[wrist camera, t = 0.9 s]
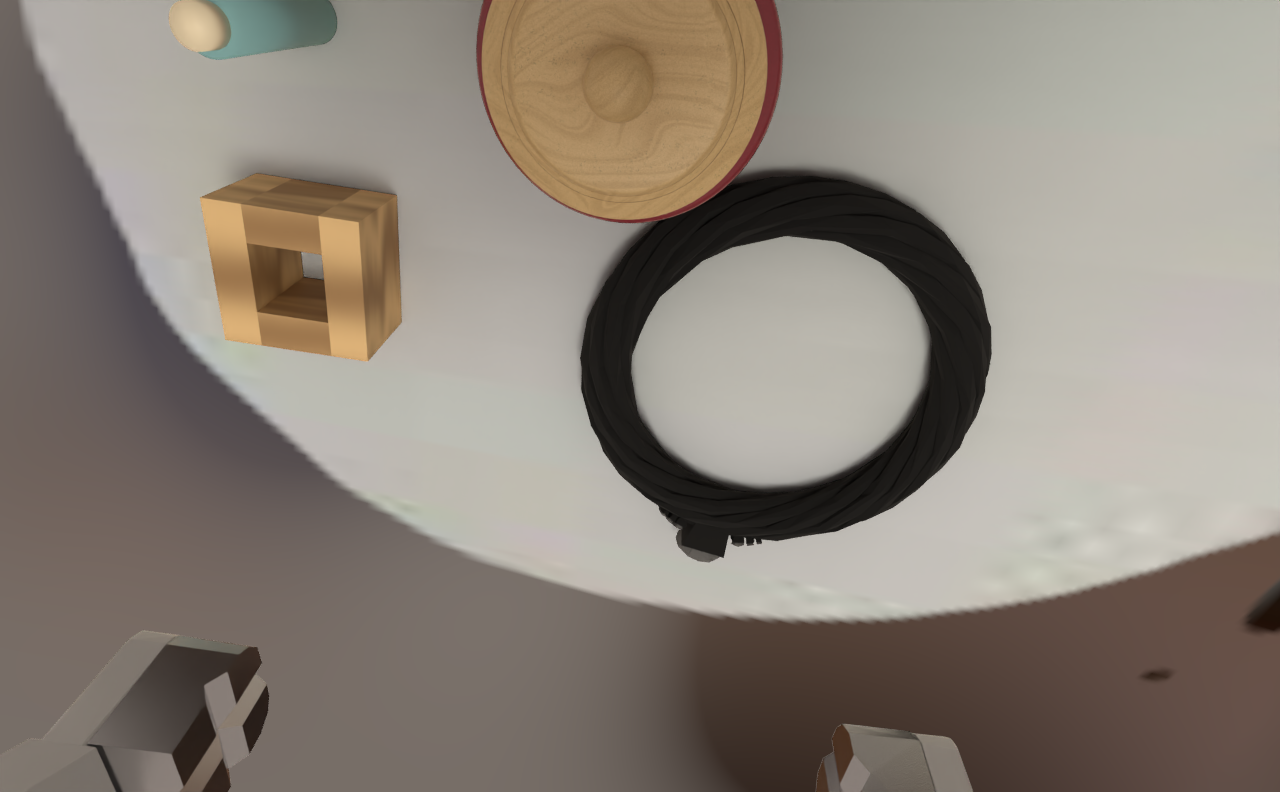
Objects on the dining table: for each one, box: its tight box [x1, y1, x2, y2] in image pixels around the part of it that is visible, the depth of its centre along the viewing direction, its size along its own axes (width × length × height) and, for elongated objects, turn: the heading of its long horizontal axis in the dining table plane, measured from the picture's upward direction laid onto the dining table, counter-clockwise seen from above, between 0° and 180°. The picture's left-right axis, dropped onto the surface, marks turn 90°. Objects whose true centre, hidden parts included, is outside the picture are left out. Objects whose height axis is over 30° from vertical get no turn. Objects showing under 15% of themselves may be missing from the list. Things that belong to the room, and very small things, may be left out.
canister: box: [476, 0, 783, 223], centre depth 32 cm, size 13×13×18 cm
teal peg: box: [169, 0, 337, 60], centre depth 35 cm, size 3×3×11 cm
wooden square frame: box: [200, 173, 401, 361], centre depth 45 cm, size 9×9×6 cm
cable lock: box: [580, 176, 992, 562], centre depth 49 cm, size 28×4×30 cm
